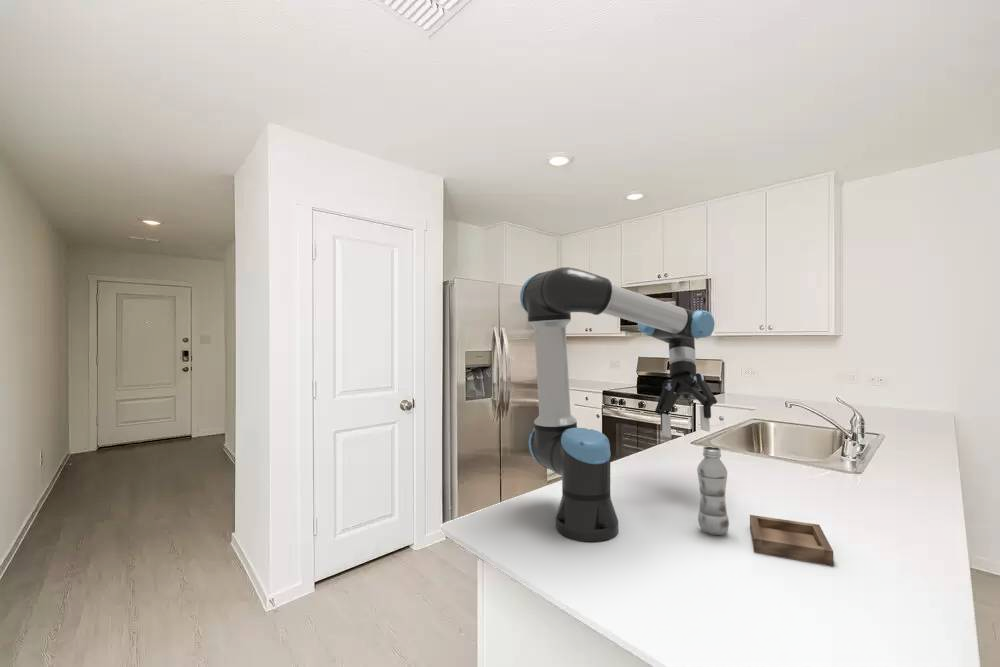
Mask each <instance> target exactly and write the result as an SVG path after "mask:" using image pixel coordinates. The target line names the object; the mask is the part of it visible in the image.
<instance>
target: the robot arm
mask: <svg viewBox="0 0 1000 667" xmlns="http://www.w3.org/2000/svg"><path fill="white" fill-rule="evenodd" d="M519 294H520V295H519V299H520V300H519V301H520V303H521V304H520V305H521V307H522V308H523V310H524V311H525V312H526V313H527V321H528V324H529V325H530V326H531V327H532V328H533V330H534V348H535V349H534V350H535V364H536V365H535V366H536V382H537V398H538V399H537V400H538V417H537V418H535V419H534V421H533V423H534V424H533V427H534V428H533V429H532V432H531V433H530V435H529V438H528V449H529V452H530V455H531V457H532V458H533V460H535V461H536V462H537V463H538V464H539V465H541V466H542V468H545V469H548V470H550V471H552V472H554V473H556V474H558V475H559V476H561V484H562V486H561V487H562V488H561V489H562V490H561V491H562V495H561V499H560V502H559V504H558V507H557V508H558V509H557V512H556V514H555V529H556V530H557V532H558V533H560V534H561V535H562V536H565V537H567V538H569V539H571V540H576V541H580V542H590V543H591V542H603V541H607V540H611V539H613V538H615V537H616V536H617V535H618V533H619V519H618V516H617V513H616V510H615V507H614V505H613V502H612V497H611V454H612V452H611V449H610V448H611V446H610V440H609V438H608V437H607V436H606V435H605V433H602V432H601V431H598V430H595V429H591V428H586V427H578V422H577V418H575V416H573V415H572V413H571V397H570V382H569V367H568V366H569V364H568V363H569V362H568V346H567V344H568V342H567V329H566V328H567V325H569V323H570V322H572V316H571V313H587V314H592V315H595V316H599V315H601V314H604V315H605V314H606V315H609V316H611V317H612V316H613V317H615V318H619V319H622V320H627V321H628V322H629V321H630V322H634V323H637V329H638V330H639V332H641V333H642V334H645V335H646V336H648V337H652V338H655V339H656V340H659V341H661V342H663V343H666V344H668V360H669V362H668V363H669V365H668V367H669V368H668V369H669V376H670V378H671V381H670V382H669V383H667V382H663V383H662V389H661V392H660V396H659V398H658V401H657V404H656V407H655V409H654V413H655V414H658V415H660V426H662V428H661V430H662V434H661V435H662V437H667V438H672V429H671V428H672V425H671V424H672V423H671V422H672V421H671V415H669V414H670V412H671V411H672V409H673V407H674V406H675V404H676V402H677V400H678V399H679V398H680V397H681V396H684V395H689V394H691V395H692V396H694V398H695V399H696V400H697V401H698V403H700V406H699V421H700V422H699V423H700V430H701V431H705V432H711V428H710V426H711V425H710V419H711V418H712V409H711V408H712V406H713V405H716V404H717V403H718V400H717V399H716V397H715V395H714V394H713V391H712V390H711V387H710V385H709V384H708V383H707V381H706V376H705V375H704V374H702V373H699V372H697V365H696V364H697V362H696V360H697V359H696V347H695V345H696V344H695V339H706V338H709V336H711V335H712V334H713V332H714V330H715V318H714V316H713V315H712V313H711V312H709V311H707V310H700V309H697V310H690V309H687V308H684V307H682V306H677V305H675V304H671V303H670V302H667V301H663V300H659V299H657V298H654V297H650V296H647V295H646V294H642V293H638V292H636V291H633V290H630V289H626V288H623V287H621V286H617V285H616V284H613V282H612V281H611V280H610V279H609V278H607V277H604V276H601V275H598V274H595V273H592V272H590V271H589V272H588V271H586V270H582V269H578V268H574V267H568V266H567V267H565V266H564V267H558V268H555V269H551V270H547V271H543V272H539V273H538V272H537V273H536V274H534V275H533V276H530V277H529V278H528V279H526V281H525V282H524V283H523V285H522V287H521V289H520V293H519ZM696 383H697V385H698V386H699V388H700V390H701V392H702V393H703V394H702V393H701V392H700V391H699V388H698V387H697V386H696Z"/></svg>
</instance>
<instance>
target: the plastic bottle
mask: <svg viewBox="0 0 1000 667" xmlns="http://www.w3.org/2000/svg"><path fill="white" fill-rule="evenodd" d="M721 450H722V449H721V448H719V447H715V446H705V447H703V453H702V456H703V457H704V458H702V460H701V461H700V462H699V463H698V465H697V469H696V471H697V478H698V484H699V492H700V494H699V496H700V500H699V501H700V502H699V511H698V516H697V517H698V518H697V520H698V521H697V522H698V526H699V528H700V530H701V531H703V532H704V533H706V534H708V535H709V534H710V535H714V536H723V535H726V533H728V531H729V526H730V522H729V516H728V512H727V504H726V488H727V482H728V481H727V479H728V470H727V468H726V466H725V465H724V463H723V461H722V460H721V458H722V454H721V453H722V452H721Z"/></svg>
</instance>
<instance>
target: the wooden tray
mask: <svg viewBox="0 0 1000 667" xmlns="http://www.w3.org/2000/svg"><path fill="white" fill-rule="evenodd" d="M749 530H750V536H751V540H752V541H751V542H752V547H753V553H756V554H762V555H768V556H774V557H778V558H779V557H780V558H783V559H790V560H797V561H802V562H807V563H813V564H817V565H818V564H819V565H825V566H830V567H834V566H835V565H834V550H833V548H832V546H831V543H829V541H828V538H827V537H826V535H825V533H824V531H823V529H822V527H821V525H820V524H817V523H809V522H802V521H795V520H789V519H782V518H774V517H768V516H761V515H753V514H749Z"/></svg>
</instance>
